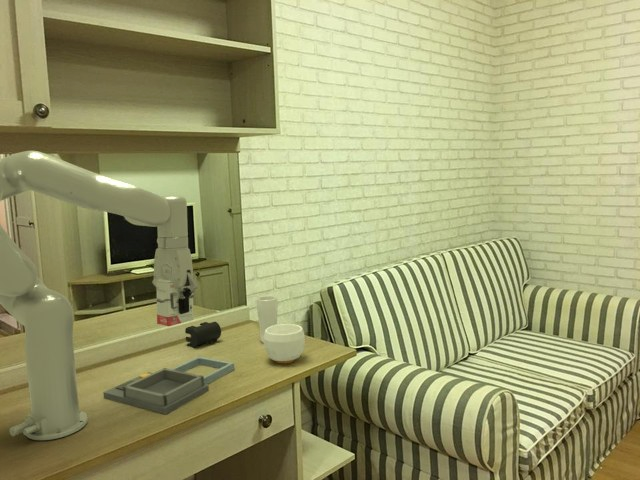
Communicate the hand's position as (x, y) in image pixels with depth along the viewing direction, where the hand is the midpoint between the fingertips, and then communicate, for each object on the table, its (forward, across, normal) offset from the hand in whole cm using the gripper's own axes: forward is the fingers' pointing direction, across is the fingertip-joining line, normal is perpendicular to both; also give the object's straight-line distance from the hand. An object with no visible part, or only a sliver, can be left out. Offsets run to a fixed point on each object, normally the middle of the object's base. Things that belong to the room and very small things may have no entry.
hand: (175, 311), depth 135 cm
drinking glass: (+19, +1, +42) cm, 46 cm away
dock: (+21, -2, -6) cm, 22 cm away
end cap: (+20, -18, +31) cm, 41 cm away
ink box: (+3, 0, 0) cm, 3 cm away
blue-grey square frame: (+20, 0, +10) cm, 22 cm away
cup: (+20, +16, +29) cm, 38 cm away
